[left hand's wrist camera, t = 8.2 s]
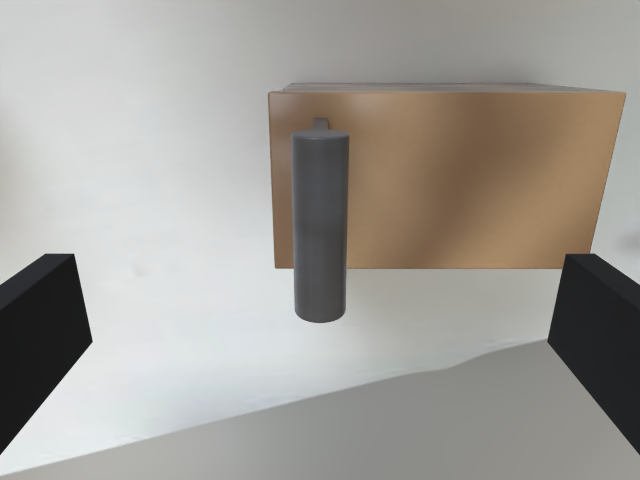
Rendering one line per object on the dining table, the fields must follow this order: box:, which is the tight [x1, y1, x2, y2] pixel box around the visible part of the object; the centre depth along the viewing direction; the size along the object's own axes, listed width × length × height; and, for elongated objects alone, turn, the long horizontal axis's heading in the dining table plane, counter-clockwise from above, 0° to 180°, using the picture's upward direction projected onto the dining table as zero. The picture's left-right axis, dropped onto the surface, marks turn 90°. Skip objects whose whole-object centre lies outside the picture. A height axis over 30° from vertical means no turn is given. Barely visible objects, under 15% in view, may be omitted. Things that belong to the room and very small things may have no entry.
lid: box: [268, 91, 626, 323], centre depth 21 cm, size 17×9×9 cm, turn 90°
